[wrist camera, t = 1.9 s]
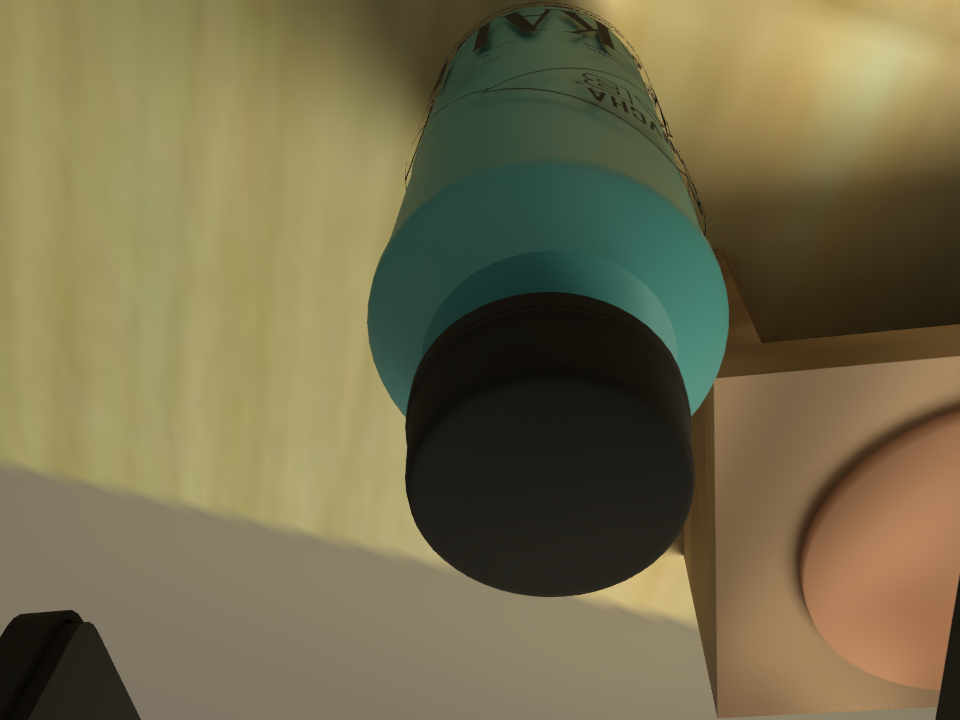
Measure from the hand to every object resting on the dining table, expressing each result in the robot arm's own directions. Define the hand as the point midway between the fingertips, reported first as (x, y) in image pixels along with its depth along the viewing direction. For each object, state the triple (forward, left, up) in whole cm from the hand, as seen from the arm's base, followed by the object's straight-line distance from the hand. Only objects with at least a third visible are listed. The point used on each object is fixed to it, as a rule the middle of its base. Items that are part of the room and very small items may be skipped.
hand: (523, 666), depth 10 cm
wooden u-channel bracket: (-12, +13, -22) cm, 29 cm away
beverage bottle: (0, 0, -23) cm, 23 cm away
